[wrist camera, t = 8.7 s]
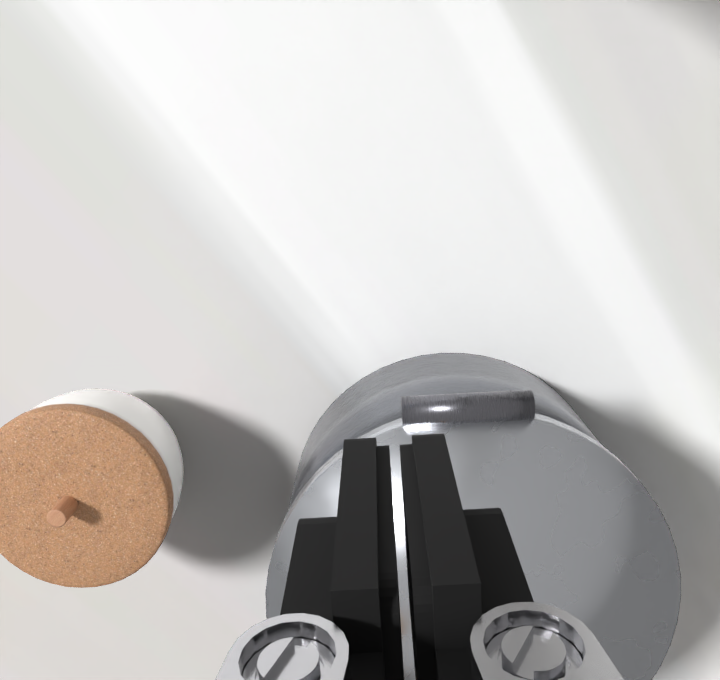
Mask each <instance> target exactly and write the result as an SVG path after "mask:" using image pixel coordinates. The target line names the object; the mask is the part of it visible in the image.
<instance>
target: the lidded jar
mask: <svg viewBox="0 0 720 680" xmlns="http://www.w3.org/2000/svg"><path fill="white" fill-rule="evenodd" d="M182 485H183V459H182V453H181V449H180V446H179V443H178V440H177V438H176V436H175V434H174V432H173V430H172V428H171V427H170V425H169V424H168V423H167V421H166V420H165V419H164V417H163V416H162V415H161V414H160V413H159V412H158V411H157V410H155V409H154V408H153V407H151V406H150V405H149V404H148V403H146V402H144V401H142V400H141V399H139V398H137V397H135V396H132V395H130V394H127V393H125V392H120V391H116V390H110V389H98V388H93V389H81V390H77V391H73V392H68V393H64V394H61V395H59V396H56V397H54V398H51V399H49V400H47V401H44V402H42V403H40V404H39V405H37V406H35V407H34V408H32V409H31V410H29V411H28V412H25V413H23V414H21V415H19V416H18V417H16V418H14V419H13V420H11V421H10V422H8V423H7V424H5V425H4V426H3V427H2V428H0V553H1V554H2V555H3V556H4V557H5V558H6V559H7V560H8V561H9V562H10V563H12V564H13V565H15V566H16V567H18V568H19V569H21V570H22V571H24V572H26V573H28V574H29V575H31V576H33V577H35V578H37V579H40V580H43V581H46V582H49V583H52V584H57V585H61V586H66V587H81V588H82V587H97V586H102V585H107V584H111V583H114V582H117V581H119V580H122V579H124V578H126V577H128V576H130V575H132V574H133V573H135V572H137V571H138V570H139V569H140V568H142V567H143V566H144V565H145V564H147V562H148V561H149V560H150V559H151V558H152V557H153V556H154V555H155V553H156V552H157V550H158V548H159V547H160V545H161V544H162V542H163V540H164V538H165V536H166V534H167V531H168V528H169V526H170V523H171V520H172V518H173V516H174V513H175V511H176V508H177V506H178V503H179V499H180V496H181V490H182Z"/></svg>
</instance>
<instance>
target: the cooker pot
mask: <svg viewBox="0 0 720 680" xmlns="http://www.w3.org/2000/svg"><path fill="white" fill-rule="evenodd" d="M512 390H532V392H533V395H534V399H535V413H536V414H540V415H544V416H547V417H550V418H552V419H555V420H557V421H560V422H562V423H565V424H567V425H570V426H572V427H574V428H576V429H577V430H579V431H581V432H583V433H584V434H586V435H588V436H589V437H591V438H593V439H595V440H596V441H597V442H599V441H598V440H597V438H596V437H595V436H594V435H593V433H592V432H591V431H590V430H589V428H588V427H587V426H586V425H585V424H584V422H583V421H582V420H581V419H580V417H579V416H578V415H577V414H576V412H575V411H574V410H573V409H572V408H571V406H570V405H569V404H568V403H567V402H566V401H565V400H564V399H563V398H562V397H561V396H560V395H559V394H558V393H557V392H556V391H555V390H554V389H552V388H551V387H550V386H549V385H547V384H546V383H545V382H544V381H542V380H541V379H539V378H538V377H536V376H534V375H532V374H531V373H529V372H527V371H525V370H524V369H522V368H519V367H517V366H514V365H512V364H509V363H507V362H505V361H501V360H497V359H494V358H490V357H486V356H481V355H473V354H466V353H438V354H430V355H421V356H417V357H413V358H409V359H405V360H401V361H398V362H396V363H393V364H391V365H388V366H385V367H383V368H381V369H379V370H377V371H375V372H373V373H371V374H369V375H368V376H366V377H364V378H362V379H361V380H360V381H358V382H357V383H355V384H354V385H353V386H351V387H350V388H348V389H347V390H346V391H345V392H344V393H343V394H342V395H341V396H340V397H338V398H337V399H336V400H335V401H334V402H333V403H332V404H331V405H330V407H329V408H328V409H327V410H326V412H325V413H324V414H323V415H322V417H321V418H320V419H319V421H318V422H317V424H316V426H315V427H314V429H313V431H312V432H311V434H310V436H309V438H308V441H307V443H306V445H305V447H304V450H303V452H302V456H301V459H300V463H299V467H298V471H297V475H296V479H295V484H294V488H293V492H292V497H291V501H290V505H289V508H290V506H291V505H292V503H293V502H294V500H295V498H296V497H297V495H298V494H299V492H300V490H301V489H302V488H303V487H304V485H305V484H306V483H307V482H308V481H309V479H310V478H311V477H312V476H313V475H314V473H315V472H316V471H317V470H318V469H319V468H320V467H321V466H322V465H324V464H325V463H326V462H327V461H328V460H329V459H330V458H331V457H332V456H333V455H334V454H336V453H337V452H338V451H340V450H341V449H343V444H344V439H357V438H358V437H360V436H362V435H364V434H366V433H368V432H370V431H372V430H374V429H375V428H377V427H379V426H381V425H383V424H386V423H389V422H391V421H394V420H397V419H399V418H402V413H401V396H417V395H436V394H455V393H474V392H493V391H512ZM599 443H600V442H599ZM600 444H601V443H600ZM601 445H602V444H601Z"/></svg>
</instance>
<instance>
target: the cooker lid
mask: <svg viewBox="0 0 720 680" xmlns="http://www.w3.org/2000/svg"><path fill="white" fill-rule="evenodd" d="M401 413H402V418H399V419H397V420H394V421H391V422H389V423H386V424H383V425H381V426H379V427H377V428H375V429H374V430H372V431H370V432H368V433H366V434H364V435H362V436H360V437H358V438H357V439H359V438H376V441H377V446H385V445H389V449H390V464H391V479H392V495H393V510H394V525H395V541H396V556H397V571H398V586H399V602H400V619H401V635H402V652H403V668H404V680H416V679H415V667H414V655H413V642H412V630H411V618H410V605H409V592H408V576H407V560H406V543H405V527H404V510H403V494H402V477H401V461H400V445H402V444H412V435H426V434H443V433H444V435H445V439H446V443H447V447H448V451H449V455H450V459H451V463H452V467H453V471H454V475H455V480H456V484H457V488H458V492H459V496H460V500H461V504H462V508H463V510H465V509H483V508H501V510H502V512H503V515H504V518H505V521H506V524H507V526H508V529H509V532H510V535H511V538H512V541H513V544H514V546H515V549H516V552H517V555H518V558H519V561H520V564H521V566H522V569H523V572H524V575H525V578H526V581H527V584H528V586H529V589H530V592H531V595H532V598H533V601H534V603H540V604H547V605H550V606H553V607H556V608H559V609H561V610H564V611H567V612H568V613H570V614H571V615H573V616H574V617H576V618H578V619H579V620H581V621H582V622H583V623H584V624H585V625H586V626H587V627H588V629H589V630H590V631H591V632H592V633H593V634H594V636H595V637H596V639H597V640H598V642H599V643H600V645H601V646H602V648H603V649H604V651H605V652H606V654H607V655H608V657H609V658H610V660H611V661H612V663H613V664H614V666H615V667H616V669H617V670H618V672H619V673H620V675H621V676H622V677H623V679H624V680H652V678H653V677H654V675H655V674H656V672H657V670H658V669H659V667H660V666H661V664H662V661H663V659H664V657H665V655H666V653H667V651H668V648H669V646H670V644H671V641H672V637H673V634H674V631H675V627H676V624H677V620H678V613H679V606H680V599H681V576H680V569H679V563H678V556H677V551H676V548H675V545H674V542H673V538H672V535H671V532H670V529H669V527H668V525H667V523H666V521H665V519H664V517H663V515H662V513H661V511H660V509H659V507H658V505H657V504H656V503H655V501H654V500H653V499H652V497H651V496H650V494H649V493H648V492H647V490H646V489H645V487H644V486H643V485H642V483H641V482H640V481H639V480H638V479H637V478H636V476H635V475H634V474H633V473H632V472H631V471H630V470H629V469H628V468H627V467H626V466H625V465H624V464H623V463H622V462H621V461H620V459H619V458H618V457H617V456H616V455H614V454H613V453H612V452H610V451H609V450H608V449H607V448H605V447H604V446H603V445H601V444H600V443H599V442H597V441H596V440H595V439H593V438H591V437H589V436H588V435H586V434H584V433H583V432H581V431H579V430H577V429H576V428H574V427H572V426H570V425H567V424H565V423H562V422H560V421H557V420H555V419H552V418H550V417H547V416H544V415H540V414H536V413H535V399H534V395H533V392H532V390H512V391H493V392H474V393H455V394H436V395H417V396H401ZM342 455H343V449H341V450H340V451H338V452H337V453H336V454H334V455H333V456H332V457H331V458H330V459H329V460H328V461H327V462H326V463H325V464H324V465H322V466H321V467H320V468H319V469H318V470H317V471H316V472H315V473H314V475H313V476H312V477H311V478H310V479H309V481H308V482H307V483H306V484H305V485H304V487H303V488H302V489H301V490H300V492H299V494H298V495H297V497H296V498H295V500H294V502H293V503H292V505H291V506H290V508H289V510H288V511H287V514H286V516H285V518H284V520H283V523H282V525H281V527H280V530H279V532H278V535H277V538H276V542H275V546H274V549H273V553H272V557H271V561H270V565H269V569H268V577H267V586H266V617H267V619H268V618H272V617H276V616H280V612H281V607H282V601H283V596H284V591H285V586H286V581H287V575H288V570H289V565H290V560H291V554H292V549H293V544H294V539H295V534H296V528H297V524H298V520H299V519H301V518H319V517H337V510H338V499H339V488H340V477H341V466H342Z"/></svg>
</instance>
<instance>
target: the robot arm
mask: <svg viewBox="0 0 720 680" xmlns="http://www.w3.org/2000/svg"><path fill="white" fill-rule="evenodd" d="M400 461H401V477H402V494H403V510H404V527H405V543H406V560H407V576H408V592H409V605H410V618H411V630H412V642H413V655H414V667H415V679H416V680H624V679H623V677H622V676H621V675H620V673H619V672H618V670H617V669H616V667H615V666H614V664H613V663H612V661H611V660H610V658H609V657H608V655H607V654H606V652H605V651H604V649H603V648H602V646H601V645H600V643H599V642H598V640H597V639H596V637H595V636H594V634H593V633H592V632H591V631H590V630H589V629H588V627H587V626H586V625H585V624H584V623H583V622H582V621H581V620H579V619H578V618H576V617H574V616H573V615H571V614H570V613H568V612H567V611H564V610H561V609H559V608H556V607H553V606H550V605H547V604H540V603H534V601H533V598H532V595H531V592H530V589H529V586H528V584H527V581H526V578H525V575H524V572H523V569H522V566H521V564H520V561H519V558H518V555H517V552H516V549H515V546H514V544H513V541H512V538H511V535H510V532H509V529H508V526H507V524H506V521H505V518H504V515H503V512H502V510H501V508H483V509H465V510H463V508H462V504H461V500H460V496H459V492H458V488H457V484H456V480H455V475H454V471H453V467H452V463H451V459H450V455H449V451H448V447H447V443H446V439H445V435H444V433H443V434H426V435H412V444H402V445H400ZM215 680H404V668H403V652H402V635H401V619H400V602H399V586H398V571H397V556H396V541H395V525H394V510H393V495H392V479H391V464H390V449H389V445H385V446H377V441H376V438H359V439H344V444H343V455H342V466H341V477H340V488H339V499H338V510H337V517H319V518H301V519H299V520H298V524H297V528H296V534H295V539H294V544H293V549H292V554H291V560H290V565H289V570H288V575H287V581H286V586H285V591H284V596H283V601H282V607H281V612H280V616H276V617H272V618H268V619H266V620H264V621H262V622H260V623H258V624H256V625H254V626H252V627H250V628H249V629H248V630H247V631H246V632H244V633H243V634H242V635H241V636H240V637H238V638H237V640H236V641H235V643H234V644H233V646H232V647H231V649H230V650H229V652H228V654H227V656H226V658H225V660H224V662H223V664H222V666H221V668H220V670H219V673H218V675H217V677H216V679H215Z"/></svg>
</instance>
